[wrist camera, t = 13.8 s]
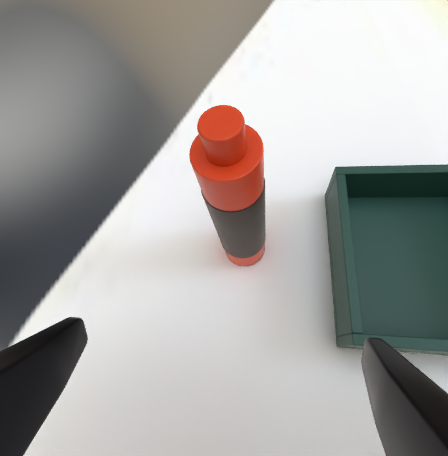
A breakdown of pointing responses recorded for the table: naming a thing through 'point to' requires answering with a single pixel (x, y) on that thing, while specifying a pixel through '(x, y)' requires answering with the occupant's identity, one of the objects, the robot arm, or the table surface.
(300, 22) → the table surface
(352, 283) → the crayon tray
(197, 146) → the crayon
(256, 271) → the table surface
